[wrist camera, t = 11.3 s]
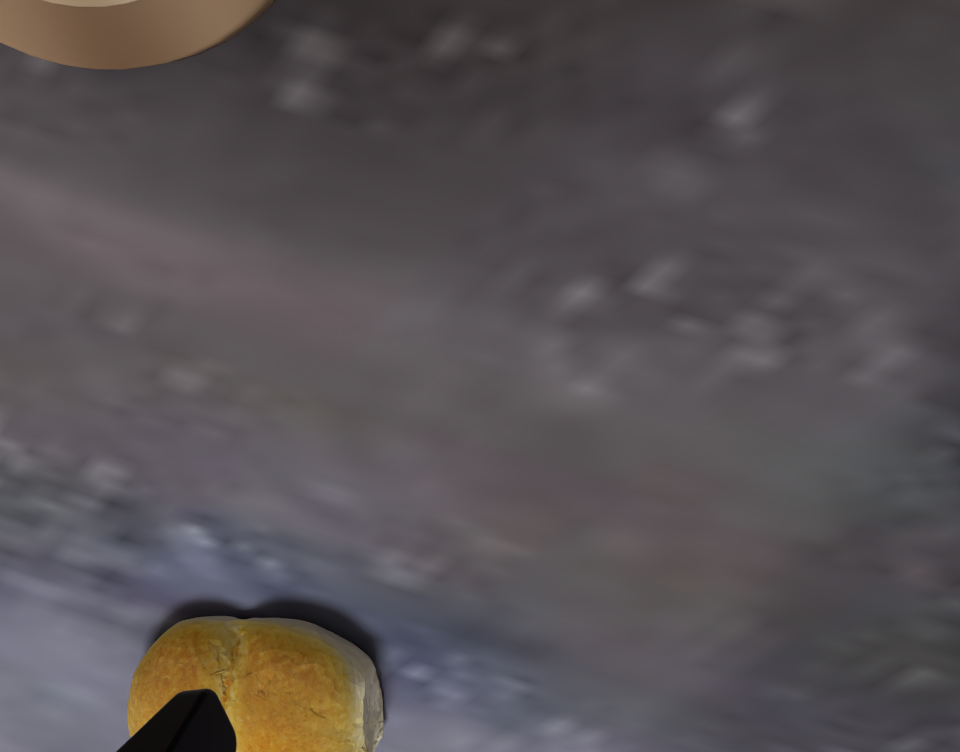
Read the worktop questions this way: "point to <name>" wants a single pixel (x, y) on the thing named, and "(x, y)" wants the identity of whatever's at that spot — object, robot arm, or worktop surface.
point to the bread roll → (267, 683)
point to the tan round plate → (122, 29)
